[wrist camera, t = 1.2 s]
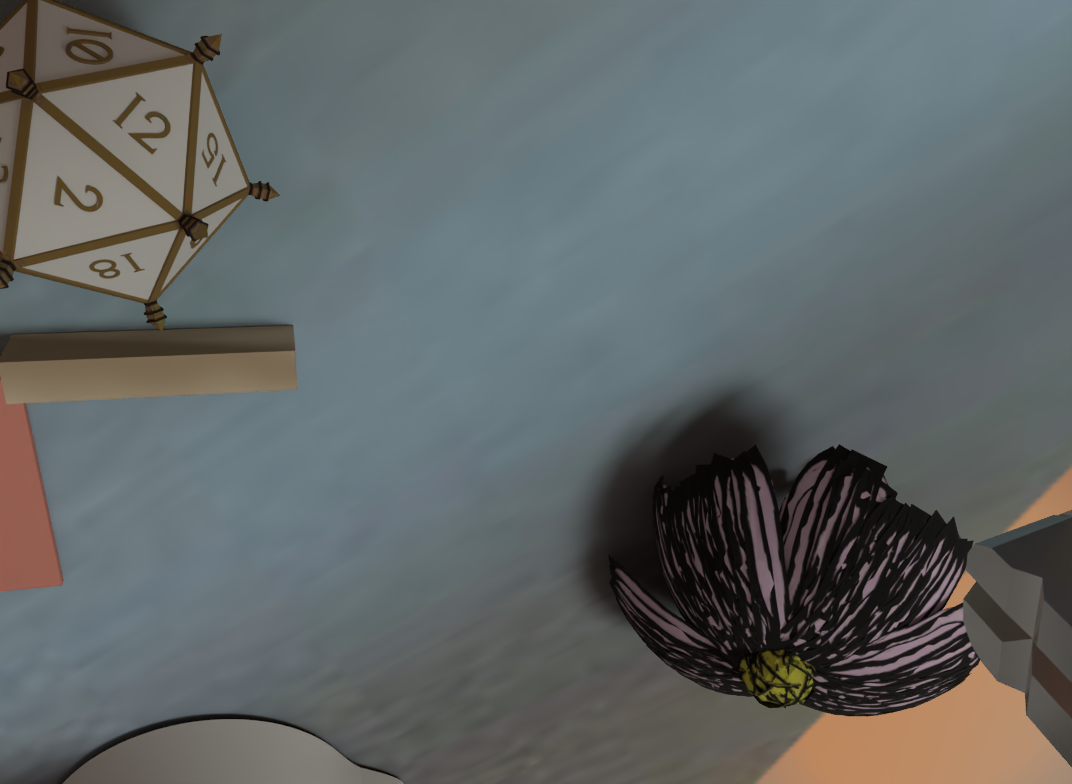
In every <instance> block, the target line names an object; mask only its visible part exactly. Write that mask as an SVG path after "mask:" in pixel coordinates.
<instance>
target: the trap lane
mask: <svg viewBox="0 0 1072 784" xmlns="http://www.w3.org/2000/svg"><path fill="white" fill-rule="evenodd" d="M0 377H1V382H2V386H3V391H4V395H5V400H6V404H21V403H41V402H60V401H80V400H100V399H119V398H139V397H159V396H178V395H198V394H218V393H237V392H257V391H277V390H296V389H297V376H296V354H295V341H294V330H293V325H292V326H261V327H231V328H200V329H169V330H163V331H160V330H138V331H108V332H77V333H46V334H16V335H11V336H10V338H9V340H8V342H7V344H6V346H5V348H4V350H3V352H2V354H1V356H0Z"/></svg>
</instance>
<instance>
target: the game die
mask: <svg viewBox="0 0 1072 784" xmlns="http://www.w3.org/2000/svg"><path fill="white" fill-rule="evenodd" d="M221 35H222V34H220V35H215V36H210V37H208V36H202V37H201V39H202V40H201V41H200V42H199V43H195V46H196V47H195V50H194V52H193V53H192V52H190V51H187V50H184V49H182V48H179V47H176V46H174V45H171V44H169V43H166V42H163V41H161V40H158V39H155V38H153V37H150V36H147V35H145V34H142V33H139V32H137V31H134V30H131V29H129V28H126V27H123V26H121V25H118V24H115V23H113V22H110V21H108V20H105V19H102V18H100V17H97V16H94V15H92V14H89V13H86V12H84V11H81V10H78V9H76V8H73V7H70V6H68V5H65V4H62V3H60V2H57V1H55V0H24V1H23V2H22V3H21V4H20V5H19V6H18V8H17V9H16V10H15V11H14V12H13V13H12V14H11V15H10V16H9V17H8V18H7V19H6V20H5V21H4V22H3V23H2V24H1V25H0V289H3V288H8V287H9V286H8V283H9V281H13V279H14V278H13V277H12V275H13V272H14V271H16V272H20V273H24V274H28V275H32V276H36V277H40V278H44V279H48V280H52V281H56V282H60V283H64V284H68V285H72V286H76V287H80V288H84V289H88V290H92V291H96V292H100V293H104V294H108V295H112V296H116V297H120V298H124V299H128V300H132V301H136V302H140V303H144V305H145V308H146V312H145V313H144V315H147V318H148V320H147V321H146V322H147V323H151V324H152V325H153V326H155V327H156V328H158V329H159V330H160V331H163V326H164V322H165V318H167V316H166V315H165V314H163V308H162V307H160V306H159V305H158V303H157V299H158V298H159V297H160V295H161V294H162V293H163V292H164V291H165V290H166V289H167V287H168V286H169V285H170V284H171V283H172V282H173V281H174V279H175V278H176V277H177V276H178V275H179V274H180V273H181V271H182V270H183V269H184V268H185V267H186V266H187V265H188V263H189V262H190V261H191V260H192V259H193V258H194V257H195V255H196V254H197V253H198V252H199V251H200V250H201V249H202V247H203V246H204V245H205V244H206V243H207V242H208V241H209V239H210V238H211V237H212V236H213V235H214V234H215V233H216V231H217V230H218V229H219V228H220V227H221V226H222V224H223V223H224V222H225V221H226V220H227V219H228V218H229V216H230V215H231V214H232V213H233V212H234V211H235V210H236V208H237V207H238V206H239V205H240V204H241V203H242V202H243V200H244V199H245V198H246V197H247V196H248V195H252V196H254V197H255V199H260V198H261V199H263V201H268V200H269V199H271V198H274V197H277V196H280V195H279V194H278V193H277V192H276V191H275V190H274V189H273V188H272V187H271V186H270V185H269V183H268V182H267V183H266V184H263V183H261V181H259V182H258V183H254V184H252V183H250V182H249V180H248V178H247V175H246V172H245V170H244V167H243V165H242V162H241V160H240V157H239V155H238V152H237V150H236V147H235V145H234V142H233V139H232V137H231V134H230V132H229V129H228V127H227V124H226V122H225V119H224V117H223V114H222V112H221V109H220V106H219V104H218V101H217V99H216V96H215V94H214V91H213V89H212V86H211V84H210V81H209V78H208V76H207V73H206V71H205V68H204V66H203V63H204V62H205V61H208V60H211V61H212V60H213V57H214V56H215V55H216V54H217V55H220V52H219V46H220V41H221Z"/></svg>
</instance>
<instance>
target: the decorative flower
mask: <svg viewBox="0 0 1072 784" xmlns="http://www.w3.org/2000/svg"><path fill="white" fill-rule="evenodd" d="M886 468H887V466H885V465H883V464H881V463H879V462H877V461H875V460H873V459H871V458H868V457H866V456H864V455H862V454H860V453H858V452H856V451H854V450H851V451H849V450H848V449H846V448H844V447H843V446H841V445H838V447H837V448H836V449H835V448H834V447H833V446H832V447H830V448H828V449H827V450H825V451H823V452H821V453H819V454H818V455H817V456H816V457H814V458H813V459H812V460H811V461H810V462H809V463H808V464H807V465H806V466H805V467H804V469H803V470H802V471H801V472H800V474H799V475H798V477H797V478H796V480H795V482H794V484H793V486H792V488H791V489H790V490H789V492H788V494H787V495H786V497H785V499H784V501H783V502H782V505H781V508H780V511H779V509H778V505H777V501H776V497H775V494H774V485H773V482H772V479H771V476H770V475H769V472H768V469H767V466H766V464H765V462H764V460H763V458H762V456H761V454H760V452H759V450H758V448H757V446H756V444H755V445H754V446H753V447H752V448H751V449H750V450H748V451H747V452H746V453H745V451H744V452H742V453H741V454H740V455H739V456H738V457H736V458H727V457H724V456H721V455H719V454H716V453H714V455H713V459H712V463H711V464H710V465H696V473H695V474H694V475H692V476H690V477H688V478H686V479H684V480H682V481H680V482H679V483H680V485H679V486H676V489H675V490H674V491H672V490H671V486H668V487H667V486H666V485H665V483H663V476H662V477H661V478H660V480H659V481H658V482H657V484H656V485H655V487H654V495H653V524H654V532H655V539H656V547H657V552H658V556H659V560H660V564H661V568H662V572H663V576H664V580H665V582H666V584H667V587H668V589H669V591H670V594H671V596H672V598H673V600H674V602H675V604H676V606H677V608H678V610H679V612H680V613H681V615H682V616H683V618H684V619H685V621H684V620H683V619H681V618H680V617H678V616H677V615H675V614H674V613H672V612H671V611H669V610H668V609H667V608H665V607H664V606H663V605H662V604H661V603H660V602H659V601H657V600H656V599H655V598H654V597H653V596H652V595H650V594H649V593H648V592H647V591H646V590H645V589H643V588H642V587H641V586H640V584H639V583H638V582H637V581H636V580H634V579H633V578H632V577H631V575H630V574H629V573H628V571H627V570H626V569H625V568H624V567H623V566H621V565H620V564H619V563H618V562H616V561H615V560H614V559H613V558H612V557H611V556H610V555H609V561H610V566H609V567H610V571H611V575H612V578H611V581H610V585H611V587H612V589H613V592H614V594H615V597H616V600H617V602H618V604H619V606H620V608H621V610H622V611H623V613H624V615H625V616H626V618H627V620H628V621H629V623H630V624H631V625H632V627H633V628H634V630H635V631H636V632H637V633H638V635H639V636H640V638H641V639H642V640H643V642H645V643H646V644H647V646H648V647H649V648H650V649H651V650H652V651H653V652H654V653H655V654H656V655H657V656H658V657H659V658H660V659H661V660H662V661H664V662H665V663H666V664H667V665H668V666H670V667H671V668H673V669H674V670H675V671H677V672H678V673H679V674H680V675H682V676H684V677H686V678H688V679H690V680H692V681H694V682H695V683H697V684H699V685H700V686H703V687H705V688H707V689H710V690H714V691H716V692H721V693H724V694H728V695H737V696H747V697H751V696H754V697H755V698H756V699H757V701H758V702H759V703H760V704H762V705H764V706H766V707H768V708H779V707H784V708H786V706H790V705H794V704H801V705H804V706H807V707H810V708H813V709H815V710H819V711H822V712H826V713H831V714H834V715H845V716H874V715H881V714H886V713H892V712H896V711H900V710H904V709H908V708H913V707H916V706H918V705H921V704H923V703H925V702H928V701H930V700H932V699H934V698H936V697H938V696H940V695H941V694H943V693H945V692H947V691H949V690H951V689H952V688H954V687H955V686H957V685H959V684H960V683H962V682H963V681H964V680H965V678H966V677H968V675H970V674H969V673H970V671H971V670H972V669H973V668H974V667H976V666H977V665H978V663H979V661H980V658H979V657H978V655H977V653H976V652H975V650H974V648H973V647H972V645H971V643H970V640H969V637H968V634H967V631H966V628H965V625H964V622H963V603H961V604H959V605H957V606H955V607H952V608H947V609H945V610H942V609H943V608H944V607H945V605H946V603H947V602H948V600H949V598H950V596H951V594H952V593H953V591H954V589H955V588H956V586H957V584H958V582H959V580H960V578H961V576H962V574H963V572H964V570H965V568H966V565H967V555H968V552H969V551H970V549H971V548H972V544H973V541H967V539H961V538H960V536H959V534H958V531H957V527H956V523H955V519H954V517H953V518H952V519H951V520H950V521H949V522H948V524H946V523H945V521H944V520H943V518H942V517H941V516H940V514H939V513H938V511H937V510H936V511H935V512H934V514H933V515H932V516H931V515H929V514H927V513H926V512H924V511H922V510H921V509H919V508H918V507H916V506H914V505H913V504H911V507H909V506H908V505H907V504H906V503H905V504H904V505H903V504H901V503H899V502H898V501H897V500H896V499H895V498H896V496H897V494H898V493H897V492H896V491H894V490H893V489H892V488H891V487H889V486H888V484H887V481H886V479H885V477H884V472H885V470H886Z"/></svg>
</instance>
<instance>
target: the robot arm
mask: <svg viewBox="0 0 1072 784" xmlns="http://www.w3.org/2000/svg"><path fill="white" fill-rule="evenodd" d="M966 571H967V572H968V573H969V574H970V575H971V576H972V577H973V578H974V579H975V580H976V583H975V584H974V585H973V587H972V588H971V589H970V591H969V592H968V594H967V595H966V596H965V598H964V601H963V622H964V625H965V628H966V631H967V634H968V637H969V640H970V643H971V645H972V647H973V648H974V650H975V652H976V653H977V655H978V657H979V658H980V660H981V662H982V663H983V664H984V665H985V667H986V668H987V669H988V670H989V671H990V673H991V674H992V675H993V676H994V677H995V679H996V680H997V681H998V682H1001V683H1004V684H1005V685H1008V686H1010V687H1012V688H1015V689H1017V690H1019V691H1022V692H1024V693H1025V699H1026V715H1027V716H1028V717H1029V719H1030V720H1031V721H1032V722H1033V723H1034V724H1035V725H1036V727H1037V728H1038V729H1039V730H1040V731H1041V732H1042V734H1043V735H1044V736H1045V737H1046V738H1047V739H1048V740H1049V742H1050V743H1051V744H1052V745H1053V746H1054V747H1055V749H1056V750H1057V751H1058V752H1059V753H1060V754H1061V755H1062V757H1063V758H1064V759H1065V760H1066V761H1067V762H1068V764H1069V765H1070V766H1071V767H1072V510H1070V511H1068V512H1065V513H1062V514H1060V515H1053V516H1050V517H1047V518H1044V519H1041V520H1039V521H1036V522H1033V523H1030V524H1028V525H1025V526H1022V527H1020V528H1017V529H1014V530H1011V531H1009V532H1006V533H1003V534H1000V535H998V536H995V537H992V538H989V539H987V540H984V541H981V542H978V543H976V544H974V545H973V547H972V548H971V549H970V551H969V552H968V555H967V565H966ZM63 784H404V783H403V782H402V781H401V780H399V779H397V778H395V777H392V776H390V775H387V774H383V773H380V772H376V771H372V770H368V769H364V768H360V767H358V766H357V765H355V764H353V763H352V762H350V761H349V760H347V759H346V758H345V757H344V756H343V755H341V754H340V753H339V752H338V751H337V750H335V749H334V748H333V747H331V746H330V745H328V744H327V743H326V742H324V741H322V740H320V739H319V738H317V737H315V736H312V735H310V734H308V733H306V732H303V731H301V730H298V729H295V728H291V727H288V726H284V725H280V724H275V723H270V722H264V721H256V720H244V719H218V720H205V721H196V722H189V723H183V724H178V725H173V726H169V727H165V728H161V729H157V730H154V731H151V732H148V733H144V734H142V735H139V736H136V737H133V738H131V739H129V740H126V741H124V742H122V743H119V744H117V745H115V746H113V747H111V748H109V749H107V750H106V751H104V752H102V753H100V754H99V755H97V756H96V757H94V758H92V759H91V760H89V761H88V762H87V763H85V764H84V765H83V766H81V767H80V768H79V769H77V770H76V771H75V772H74V773H73V774H72V775H71V776H69V777H68V778H67V779H66V780H65V781H64V782H63Z"/></svg>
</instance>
